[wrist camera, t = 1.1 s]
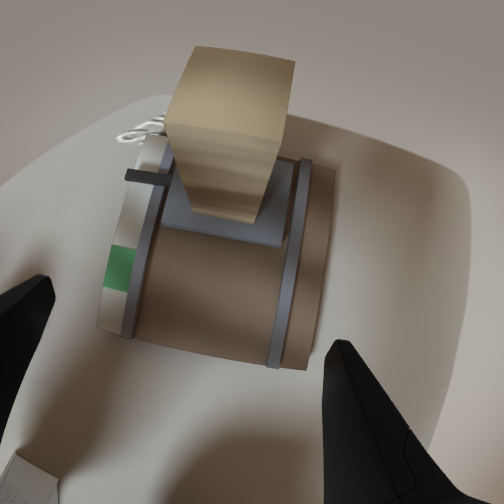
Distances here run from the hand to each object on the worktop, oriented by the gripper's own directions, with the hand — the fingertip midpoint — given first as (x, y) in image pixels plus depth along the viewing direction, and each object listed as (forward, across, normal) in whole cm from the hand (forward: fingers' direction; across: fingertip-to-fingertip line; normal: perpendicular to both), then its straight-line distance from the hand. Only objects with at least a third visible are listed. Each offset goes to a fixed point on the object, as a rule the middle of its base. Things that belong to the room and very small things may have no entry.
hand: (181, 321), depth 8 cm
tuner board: (+13, 0, +6) cm, 14 cm away
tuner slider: (+14, +2, +2) cm, 14 cm away
